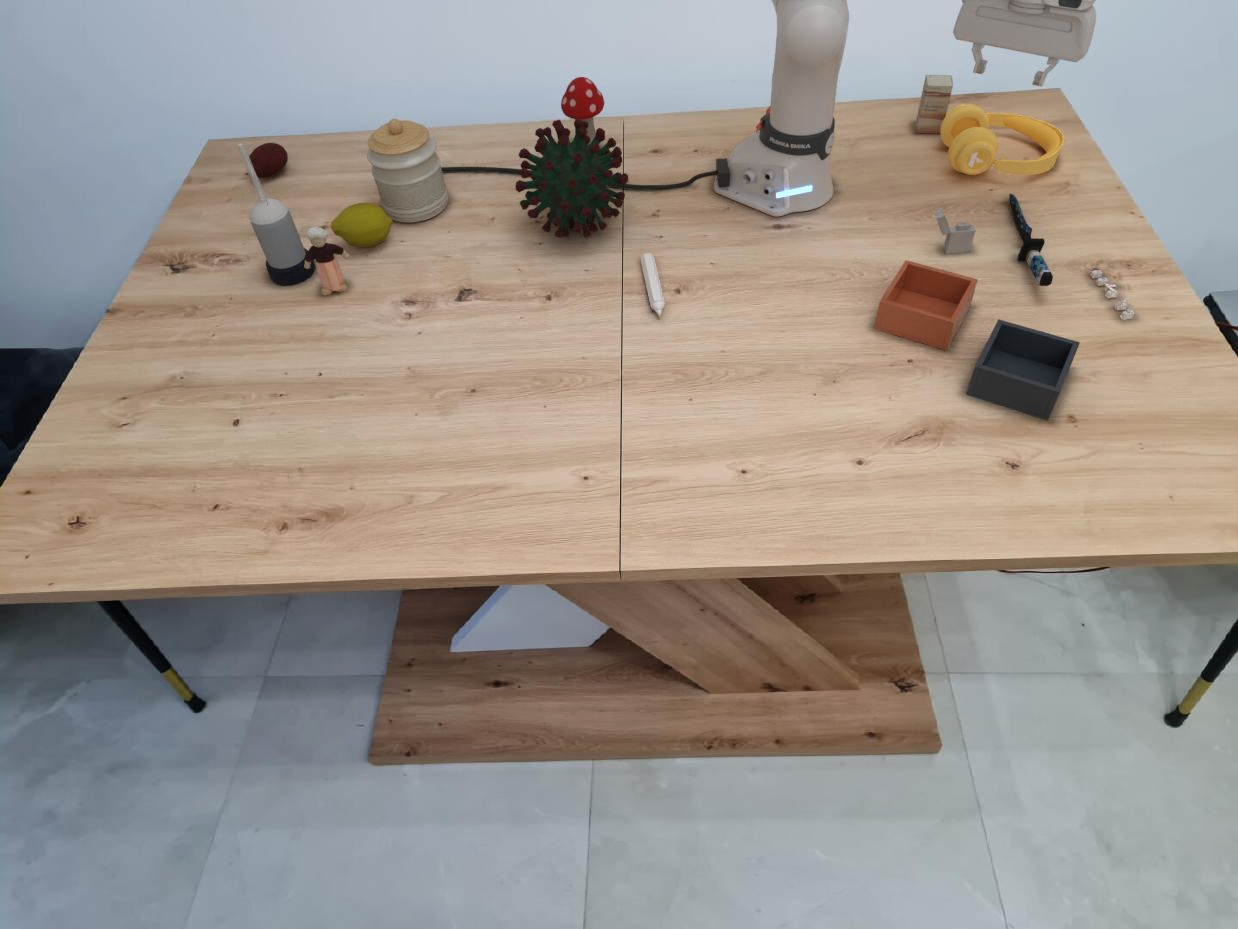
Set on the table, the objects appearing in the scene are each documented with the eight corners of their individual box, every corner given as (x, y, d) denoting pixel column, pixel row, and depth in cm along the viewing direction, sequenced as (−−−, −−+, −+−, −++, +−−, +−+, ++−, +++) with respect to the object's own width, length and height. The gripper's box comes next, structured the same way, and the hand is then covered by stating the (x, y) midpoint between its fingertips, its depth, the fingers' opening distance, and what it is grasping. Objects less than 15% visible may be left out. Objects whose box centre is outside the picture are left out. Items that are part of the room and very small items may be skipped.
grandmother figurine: (319, 301, 158) (294, 240, 148) (313, 290, 160) (289, 229, 150) (361, 286, 160) (339, 225, 150) (355, 275, 162) (333, 214, 152)
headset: (1068, 181, 166) (1082, 134, 159) (949, 188, 168) (958, 142, 161) (1042, 133, 177) (1055, 87, 171) (932, 140, 180) (939, 95, 173)
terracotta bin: (874, 328, 143) (879, 300, 139) (899, 287, 149) (905, 259, 145) (946, 350, 139) (954, 322, 134) (970, 307, 145) (978, 279, 141)
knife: (1048, 300, 143) (1056, 275, 140) (1028, 299, 143) (1036, 274, 140) (1020, 209, 165) (1027, 186, 162) (1003, 208, 165) (1009, 185, 162)
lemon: (400, 228, 171) (389, 191, 165) (395, 253, 166) (383, 215, 160) (343, 233, 171) (330, 196, 165) (337, 258, 166) (323, 221, 160)
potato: (299, 167, 188) (290, 140, 184) (268, 188, 184) (257, 161, 179) (275, 159, 191) (264, 132, 187) (243, 179, 187) (232, 153, 182)
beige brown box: (916, 133, 180) (925, 84, 173) (915, 122, 183) (924, 73, 176) (943, 134, 180) (953, 85, 172) (941, 123, 182) (952, 74, 175)
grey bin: (966, 394, 132) (974, 366, 128) (989, 347, 138) (998, 318, 134) (1048, 420, 128) (1059, 392, 124) (1068, 370, 134) (1080, 342, 130)
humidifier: (300, 252, 168) (250, 126, 149) (323, 270, 164) (275, 142, 145) (262, 273, 164) (205, 146, 146) (285, 291, 160) (230, 164, 141)
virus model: (531, 269, 159) (514, 167, 144) (516, 208, 173) (499, 108, 158) (642, 249, 161) (636, 146, 146) (619, 190, 174) (611, 89, 159)
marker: (659, 324, 148) (646, 265, 159) (670, 318, 148) (656, 259, 158) (651, 315, 147) (638, 256, 157) (662, 308, 146) (648, 249, 156)
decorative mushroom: (607, 162, 181) (601, 90, 170) (565, 165, 182) (556, 93, 170) (608, 137, 188) (603, 66, 177) (567, 139, 188) (559, 68, 177)
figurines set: (1088, 275, 148) (1093, 261, 146) (1105, 273, 148) (1111, 259, 146) (1123, 322, 140) (1129, 308, 138) (1140, 320, 140) (1147, 305, 138)
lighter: (967, 246, 155) (977, 205, 149) (970, 252, 154) (981, 211, 148) (925, 249, 156) (934, 208, 150) (928, 255, 154) (937, 214, 148)
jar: (370, 218, 174) (343, 132, 161) (405, 182, 182) (382, 98, 168) (428, 229, 170) (405, 142, 157) (461, 192, 178) (442, 106, 164)
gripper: (961, -23, 137) (938, 70, 147) (1101, 0, 129) (1068, 97, 139) (973, -32, 141) (950, 60, 151) (1110, -10, 133) (1077, 85, 143)
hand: (1007, 78), depth 145 cm, fingers open, 8 cm apart
